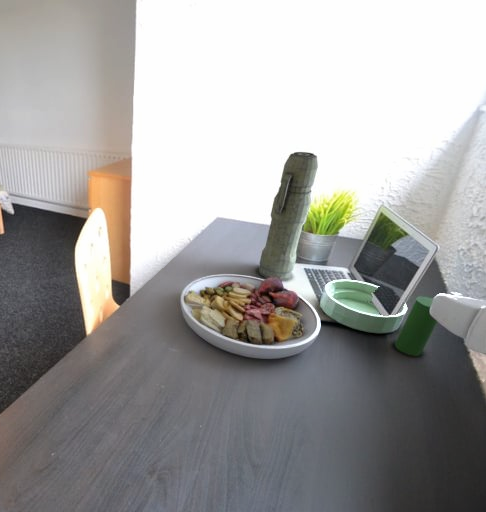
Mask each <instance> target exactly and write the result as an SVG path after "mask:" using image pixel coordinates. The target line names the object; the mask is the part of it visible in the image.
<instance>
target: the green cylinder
mask: <svg viewBox="0 0 486 512" xmlns="http://www.w3.org/2000/svg"><path fill="white" fill-rule="evenodd" d="M433 300H434V297H433V298H432V297H429V296H423V295H422V296H416V298H415V300H414V302H413V304H412V307H411V309H410V310H409V313H408V315H407V317H406V319H405V321H404V323H403V326H402V327H401V330H400V332H399V334H398V337H397V338H396V341H395V343H394V346H395V348H396V350H398V351H400V352H401V353H403V354H406V355H408V356H413V357H416V356H417V357H418V356H421V355H422V353H423V351H424V349H425V347H426V345H427V343H428V341H429V339H430V337H431V335H432V333H433V331H434V329H435V327H436V325H437V324H438V321H436V320H435V319H434V318H433V317H432V316H431V315H430V307H431V304H432V302H433Z"/></svg>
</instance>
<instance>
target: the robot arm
mask: <svg viewBox="0 0 486 512" xmlns="http://www.w3.org/2000/svg"><path fill="white" fill-rule="evenodd" d="M433 299H434V300H433V302H432V304H431V307H430V315H431V316H432V317H433V318H434V319H435V320H436V321H437V323H439V324H440V325H441V327H443V328H445V329H446V330H447V331H449V332H450V333H451V334H453V335H455V336H457V337H459V338H461V339H464V342H463V344H464V346H465V347H466V348H468V349H469V350H470V351H473V352H476V353H479V354H482V355H485V356H486V300H484V299H479V298H478V299H477V298H471V297H466V296H465V295H464V294H462V293H458V292H452V291H449V292H448V293H439V294H436V296H434V297H433Z"/></svg>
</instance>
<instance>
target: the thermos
mask: <svg viewBox="0 0 486 512" xmlns="http://www.w3.org/2000/svg"><path fill="white" fill-rule="evenodd" d="M318 162H319V161H318V156H317V154H315V153H314V152H313V153H312V152H307V151H295V152H293V153H290V154H289V156H288V158H287V159H286V161H285V163H284V165H283V170H282V174H281V179H280V186H279V187H278V191H277V193H276V195H275V196H274V199H273V202H272V207H271V211H270V218H271V220H270V224H269V229H268V233H267V237H266V242H265V246H264V248H263V249H262V250H261V255H260V260H259V267H258V273H259V274H260V275H261V276H262V277H264V278H265V279H267V278H270V277H274V278H278V279H279V280H281V282H282V281H283V282H284V281H288V280H289V279H291V276H292V272H293V270H294V268H295V265H296V260H297V257H298V256H297V249H298V245H299V241H300V238H301V237H300V236H301V233H302V229H303V226H304V224H305V223H306V222H307V219H308V215H309V211H310V207H311V203H312V197H311V194H312V187H313V186H314V182H315V178H316V175H317V171H318V168H319V164H318Z"/></svg>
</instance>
